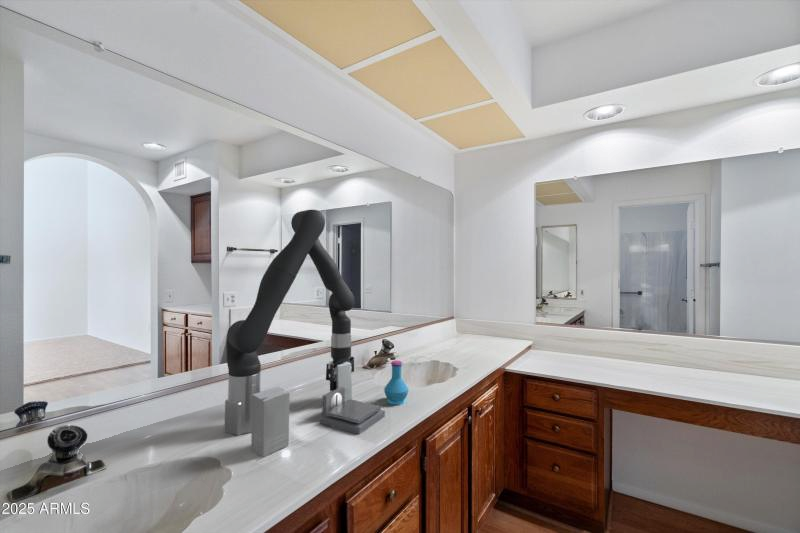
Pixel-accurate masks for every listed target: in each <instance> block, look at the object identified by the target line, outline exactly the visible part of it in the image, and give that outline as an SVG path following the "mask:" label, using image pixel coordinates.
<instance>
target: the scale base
mask: <svg viewBox="0 0 800 533" xmlns="http://www.w3.org/2000/svg"><path fill="white" fill-rule="evenodd" d="M343 402H345V388H344V387H340V388H338V389H336V390H334V391H331V392H330V391H329V392H327V393H325V394H323V395H322V407H321V410H322V411H321V412H322V413H321V417H320V424H321V425H325V426H328V427H332V428H336V429H339V430H343V431H347V432H350V433H354V434H357V435H361V434H363V432H365V431H367V430H368V429H369V428H371V427H373V425H375V424H377V423H378V422H379V421H381V420H382V419H384V418H385V417H386V413H385V412H386V411H385V410H384V409H380V410H379V411H377V412H376V413H374V414H373V415H371V416H370V417H368V418H367V419H365V420H364V421H362V422H360V423H355V422H351V421H347V420H343V419H340V418H336V417H332V416H328V415H326V411H328V410H330V409H332V408H334V407H336V406H337V405H339V404H341V403H343Z"/></svg>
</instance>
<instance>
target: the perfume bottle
mask: <svg viewBox="0 0 800 533" xmlns="http://www.w3.org/2000/svg"><path fill="white" fill-rule="evenodd" d="M403 364H404V363H403V361H401V360H392V361H391V362H390V365H391V379H390V380H389V381H388V382H387V384H386V385H385V386H384V388H383V390H384V394H385V396H386V399H387V403H388V404H391V405H394V406H395V405H403V404H404V403H405V402H406V399H407V396H408V394H409V387H408V386H407V384H406V383H405V381H404V380H403V378H402V366H403Z"/></svg>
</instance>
